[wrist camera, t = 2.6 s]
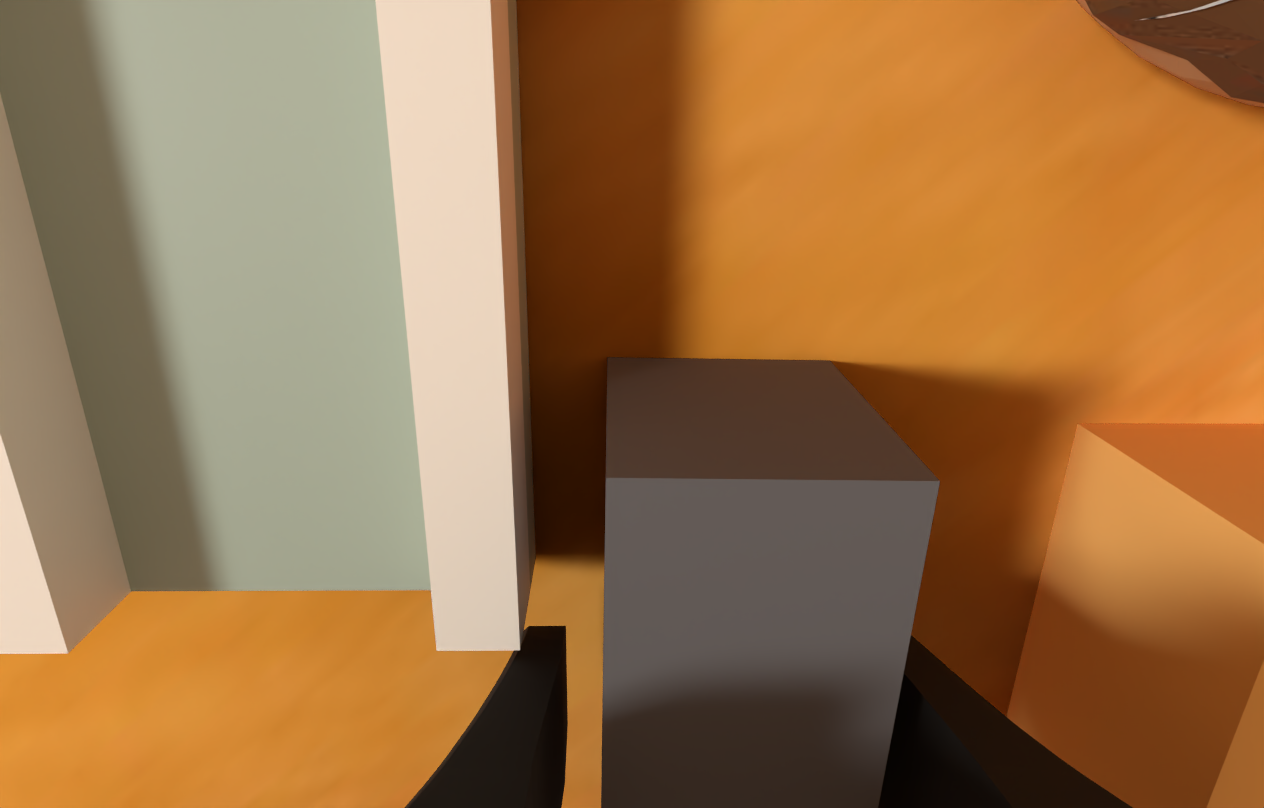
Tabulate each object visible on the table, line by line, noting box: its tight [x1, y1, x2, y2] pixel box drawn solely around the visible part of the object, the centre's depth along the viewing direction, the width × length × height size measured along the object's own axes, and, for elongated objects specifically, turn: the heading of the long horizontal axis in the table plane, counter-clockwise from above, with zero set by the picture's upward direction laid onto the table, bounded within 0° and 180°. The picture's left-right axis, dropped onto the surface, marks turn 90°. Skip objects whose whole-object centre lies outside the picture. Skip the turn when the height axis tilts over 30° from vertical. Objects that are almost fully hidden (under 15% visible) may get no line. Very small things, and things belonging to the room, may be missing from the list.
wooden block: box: [1006, 424, 1264, 808], centre depth 13 cm, size 10×4×4 cm, turn 179°
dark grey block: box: [601, 357, 940, 808], centre depth 12 cm, size 10×4×4 cm, turn 179°
